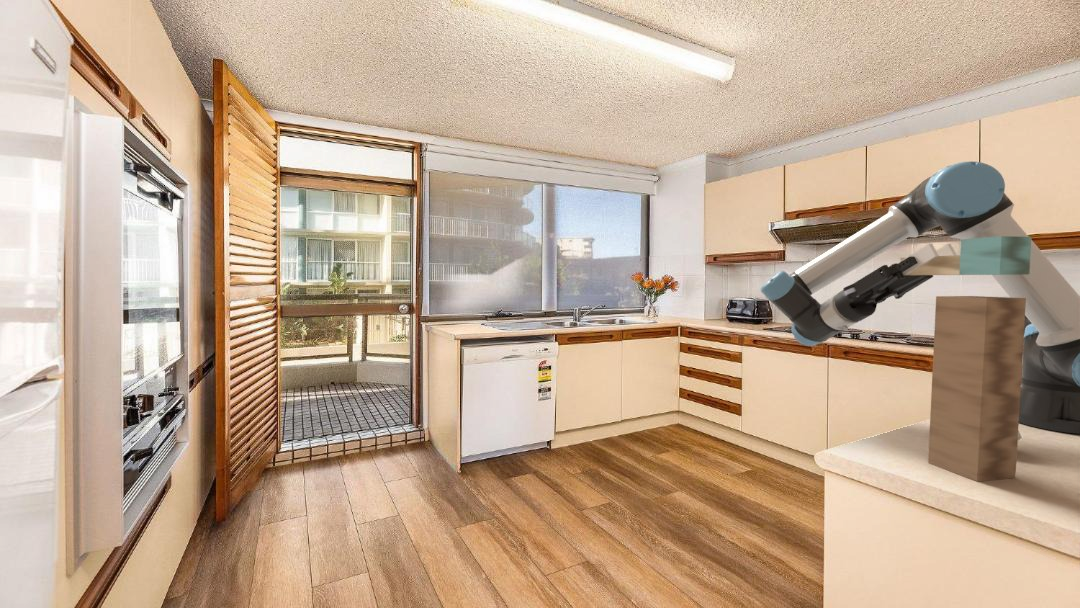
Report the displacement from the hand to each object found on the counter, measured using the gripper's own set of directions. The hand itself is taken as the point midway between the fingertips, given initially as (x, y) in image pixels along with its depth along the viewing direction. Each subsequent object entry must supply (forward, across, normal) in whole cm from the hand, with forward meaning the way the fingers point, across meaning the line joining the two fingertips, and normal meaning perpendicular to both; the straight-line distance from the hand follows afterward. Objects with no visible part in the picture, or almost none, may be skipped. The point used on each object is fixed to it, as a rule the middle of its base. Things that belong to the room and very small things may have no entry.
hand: (943, 250), depth 86 cm
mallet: (0, 0, -5) cm, 5 cm away
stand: (-14, 0, -36) cm, 39 cm away
